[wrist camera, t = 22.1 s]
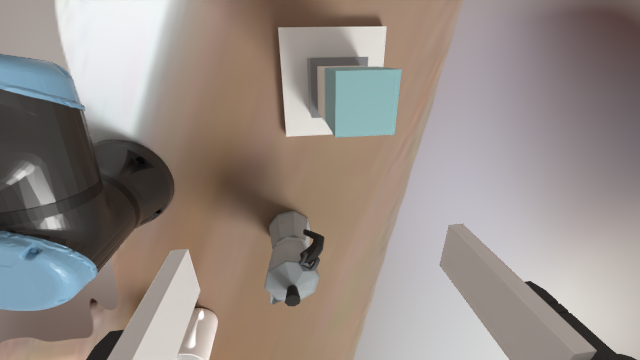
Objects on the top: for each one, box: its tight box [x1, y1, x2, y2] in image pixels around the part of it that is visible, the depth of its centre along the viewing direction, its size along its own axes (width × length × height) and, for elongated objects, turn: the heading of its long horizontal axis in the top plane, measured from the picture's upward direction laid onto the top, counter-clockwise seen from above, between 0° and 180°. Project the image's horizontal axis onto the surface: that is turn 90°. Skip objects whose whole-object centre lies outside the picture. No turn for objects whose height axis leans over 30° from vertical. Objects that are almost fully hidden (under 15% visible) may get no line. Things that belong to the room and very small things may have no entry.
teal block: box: [325, 66, 401, 137], centre depth 28 cm, size 6×6×7 cm
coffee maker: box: [265, 211, 324, 306], centre depth 46 cm, size 15×9×18 cm, turn 144°
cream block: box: [317, 66, 367, 122], centre depth 34 cm, size 6×6×7 cm
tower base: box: [278, 26, 386, 137], centre depth 40 cm, size 16×16×6 cm
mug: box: [176, 308, 218, 360], centre depth 57 cm, size 9×12×11 cm
